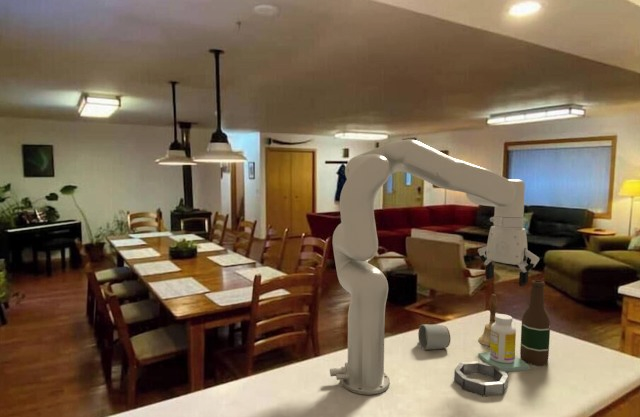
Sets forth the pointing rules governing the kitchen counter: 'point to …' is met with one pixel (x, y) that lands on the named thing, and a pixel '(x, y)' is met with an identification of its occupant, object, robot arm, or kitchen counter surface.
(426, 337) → the ceramic mug
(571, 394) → the kitchen counter surface
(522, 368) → the pad
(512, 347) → the supplement bottle
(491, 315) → the hand bell
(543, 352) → the beer bottle
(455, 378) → the collar
